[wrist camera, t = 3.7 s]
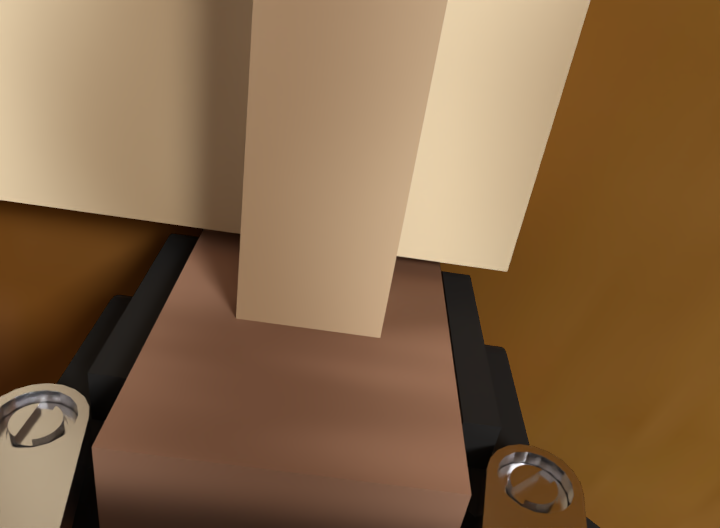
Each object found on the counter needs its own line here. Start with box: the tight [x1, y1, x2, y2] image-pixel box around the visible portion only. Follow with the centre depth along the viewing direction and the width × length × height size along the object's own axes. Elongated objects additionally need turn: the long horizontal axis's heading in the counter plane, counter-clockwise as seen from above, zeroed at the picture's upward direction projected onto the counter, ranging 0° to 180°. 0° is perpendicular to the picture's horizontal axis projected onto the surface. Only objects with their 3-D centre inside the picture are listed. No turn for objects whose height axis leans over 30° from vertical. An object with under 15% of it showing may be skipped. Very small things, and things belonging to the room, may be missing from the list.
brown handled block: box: [92, 0, 471, 528], centre depth 8 cm, size 4×13×6 cm, turn 172°
